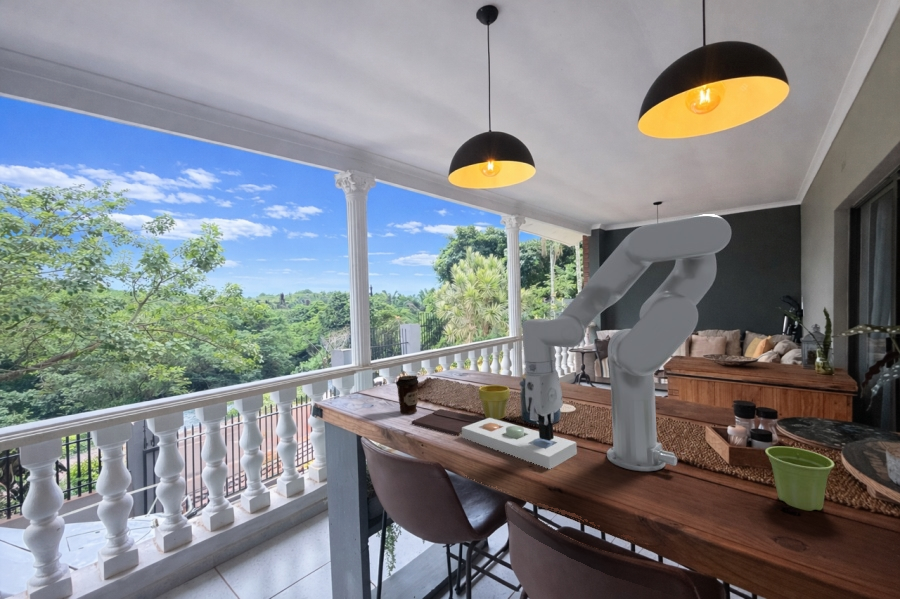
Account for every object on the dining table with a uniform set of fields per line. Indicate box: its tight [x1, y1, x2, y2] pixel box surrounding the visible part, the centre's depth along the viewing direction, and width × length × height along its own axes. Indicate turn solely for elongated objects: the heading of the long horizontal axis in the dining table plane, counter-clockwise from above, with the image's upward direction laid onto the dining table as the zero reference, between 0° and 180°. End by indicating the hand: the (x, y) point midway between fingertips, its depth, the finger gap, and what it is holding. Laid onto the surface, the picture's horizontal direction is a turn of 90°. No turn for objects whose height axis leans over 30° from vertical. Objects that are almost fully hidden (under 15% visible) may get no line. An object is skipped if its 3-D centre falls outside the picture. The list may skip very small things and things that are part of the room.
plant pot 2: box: [765, 445, 835, 511], centre depth 70 cm, size 9×9×9 cm
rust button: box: [483, 423, 499, 432], centre depth 109 cm, size 5×5×3 cm
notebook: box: [411, 408, 487, 437], centre depth 124 cm, size 15×20×2 cm
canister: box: [518, 372, 562, 425], centre depth 124 cm, size 13×13×18 cm
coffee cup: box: [395, 374, 419, 415], centre depth 138 cm, size 9×8×13 cm
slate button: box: [533, 438, 552, 449], centre depth 96 cm, size 5×5×3 cm
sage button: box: [506, 425, 525, 440], centre depth 103 cm, size 5×5×3 cm
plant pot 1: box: [478, 384, 510, 420], centre depth 128 cm, size 10×10×10 cm
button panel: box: [461, 418, 578, 470], centre depth 103 cm, size 30×12×3 cm, turn 41°
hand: (546, 438), depth 96 cm, fingers closed
